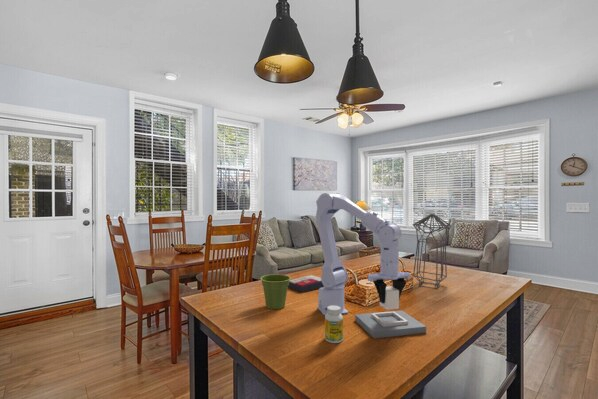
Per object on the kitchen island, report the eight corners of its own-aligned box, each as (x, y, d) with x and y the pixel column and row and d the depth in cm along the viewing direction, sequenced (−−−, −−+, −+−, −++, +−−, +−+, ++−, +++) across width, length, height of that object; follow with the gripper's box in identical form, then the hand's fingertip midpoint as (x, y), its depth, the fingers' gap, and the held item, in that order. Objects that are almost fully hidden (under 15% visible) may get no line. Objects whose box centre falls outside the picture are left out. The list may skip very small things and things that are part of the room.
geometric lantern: (417, 279, 159) (419, 212, 159) (450, 285, 150) (453, 214, 150) (408, 286, 146) (411, 213, 146) (444, 293, 137) (447, 215, 137)
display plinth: (373, 338, 92) (373, 328, 92) (355, 320, 106) (355, 311, 106) (426, 332, 96) (426, 323, 96) (401, 315, 110) (401, 307, 110)
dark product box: (287, 280, 145) (311, 273, 154) (287, 289, 145) (311, 282, 154) (301, 285, 136) (326, 278, 145) (301, 295, 136) (326, 287, 145)
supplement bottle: (339, 334, 95) (339, 303, 95) (345, 342, 90) (345, 310, 90) (322, 336, 94) (322, 305, 94) (328, 344, 88) (328, 311, 88)
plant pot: (297, 306, 119) (297, 277, 119) (274, 314, 111) (274, 283, 110) (276, 299, 127) (276, 272, 127) (253, 306, 119) (253, 277, 119)
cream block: (386, 309, 98) (386, 291, 98) (379, 304, 103) (379, 287, 103) (398, 308, 99) (399, 290, 99) (391, 303, 104) (391, 286, 104)
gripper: (374, 264, 95) (374, 307, 96) (416, 262, 99) (415, 304, 99) (365, 259, 102) (364, 300, 102) (404, 258, 106) (403, 297, 106)
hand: (389, 301), depth 101 cm, fingers closed on cream block, 4 cm apart
